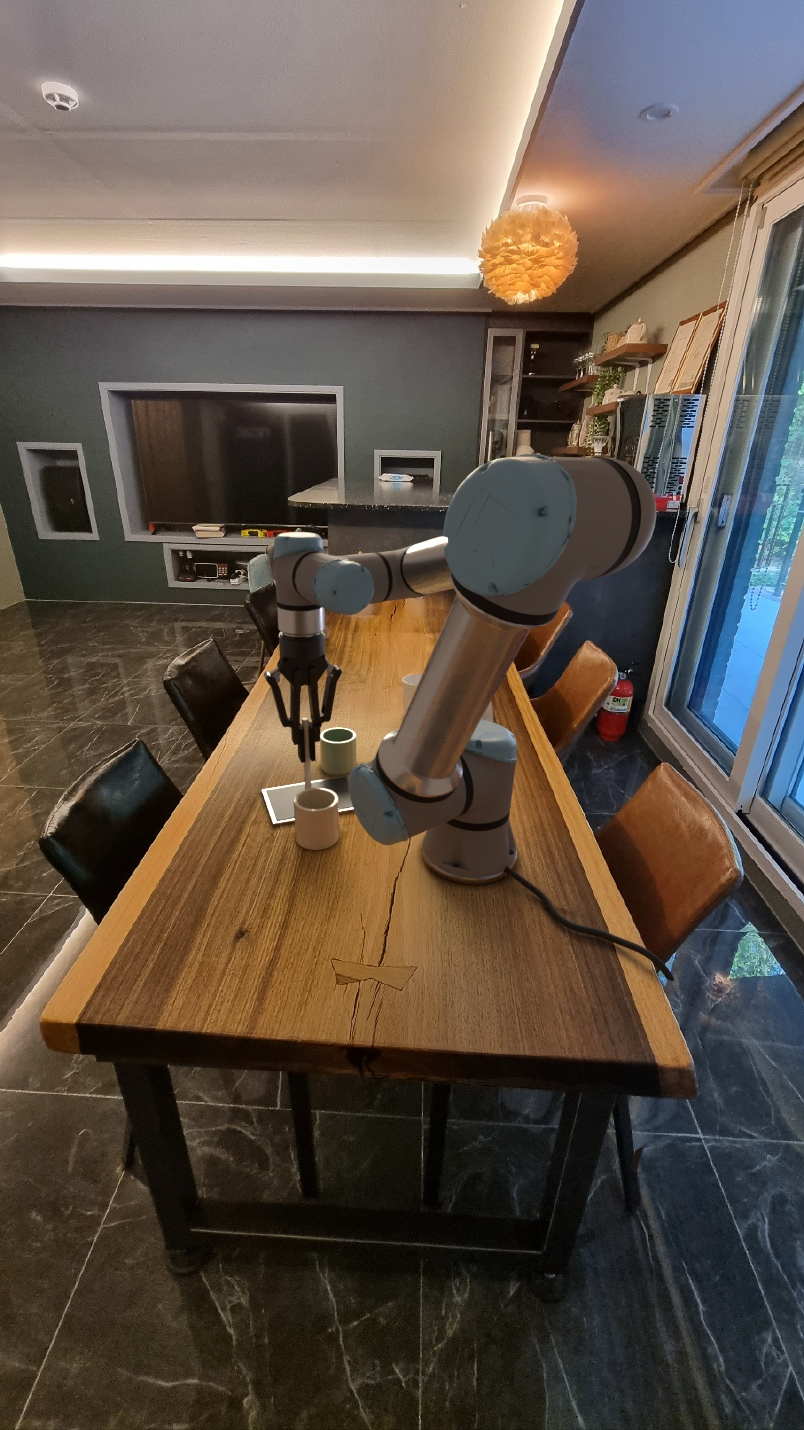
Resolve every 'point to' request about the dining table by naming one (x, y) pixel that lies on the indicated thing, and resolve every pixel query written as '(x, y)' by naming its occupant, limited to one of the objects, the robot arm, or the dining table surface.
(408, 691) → the white cup
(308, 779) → the stylus
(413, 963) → the dining table surface
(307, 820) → the pen cup cream
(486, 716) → the platform
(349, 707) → the dining table surface
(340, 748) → the pen cup green
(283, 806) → the tablet
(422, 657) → the dining table surface
